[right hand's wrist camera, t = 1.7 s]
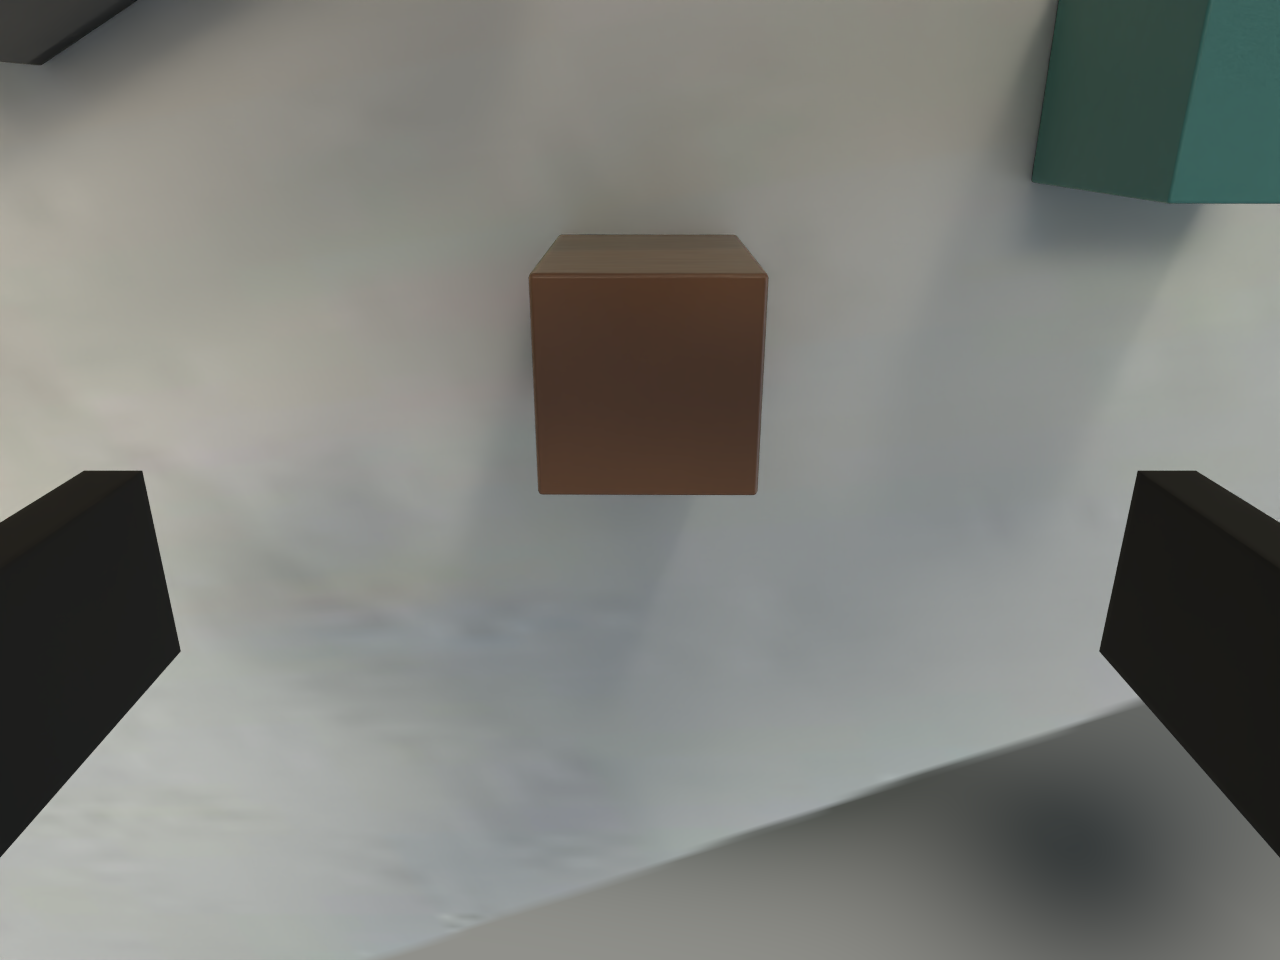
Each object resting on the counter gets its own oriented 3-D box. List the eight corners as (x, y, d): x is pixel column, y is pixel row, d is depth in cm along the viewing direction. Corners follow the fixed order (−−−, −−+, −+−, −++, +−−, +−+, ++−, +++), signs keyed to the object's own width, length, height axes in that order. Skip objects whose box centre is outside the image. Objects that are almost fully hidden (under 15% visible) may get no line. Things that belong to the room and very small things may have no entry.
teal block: (1061, -26, 23) (1227, -85, 16) (1260, -27, 23) (1505, -86, 16) (1030, 182, 25) (1167, 204, 18) (1214, 182, 25) (1417, 203, 18)
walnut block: (558, 234, 25) (528, 273, 19) (737, 234, 25) (769, 273, 19) (563, 406, 27) (537, 496, 21) (730, 406, 27) (757, 496, 21)
